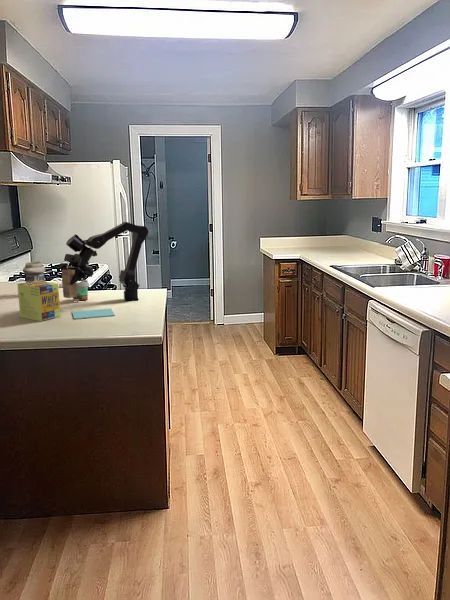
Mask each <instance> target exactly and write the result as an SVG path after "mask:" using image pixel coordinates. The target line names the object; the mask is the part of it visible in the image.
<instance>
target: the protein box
mask: <svg viewBox="0 0 450 600" xmlns="http://www.w3.org/2000/svg"><path fill="white" fill-rule="evenodd" d="M17 293H18V306H19V317H20V318H22V319H26V320H31V321H37V322H46V321H50V320H53V319H57V318H61V304H60V290H59V283H55V282H48V281H46V282H41V281H33V282H27V283H25V282H23V283H21V282H20V283H17Z"/></svg>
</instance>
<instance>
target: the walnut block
mask: <svg viewBox="0 0 450 600" xmlns="http://www.w3.org/2000/svg"><path fill="white" fill-rule="evenodd" d="M74 274H75V270H72V269H67V270H61V280H62V281H61V284H63V287H62V293H63V294H62V296H63V298H65V299H73V298H74V297H77V284H76V283H77V282H76V283H74V284H72V285H71V284H70V282H71V280H72V278H73V276H74Z"/></svg>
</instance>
